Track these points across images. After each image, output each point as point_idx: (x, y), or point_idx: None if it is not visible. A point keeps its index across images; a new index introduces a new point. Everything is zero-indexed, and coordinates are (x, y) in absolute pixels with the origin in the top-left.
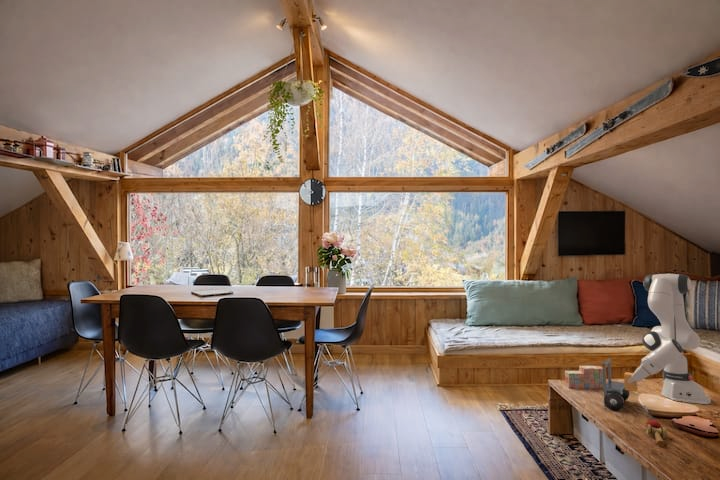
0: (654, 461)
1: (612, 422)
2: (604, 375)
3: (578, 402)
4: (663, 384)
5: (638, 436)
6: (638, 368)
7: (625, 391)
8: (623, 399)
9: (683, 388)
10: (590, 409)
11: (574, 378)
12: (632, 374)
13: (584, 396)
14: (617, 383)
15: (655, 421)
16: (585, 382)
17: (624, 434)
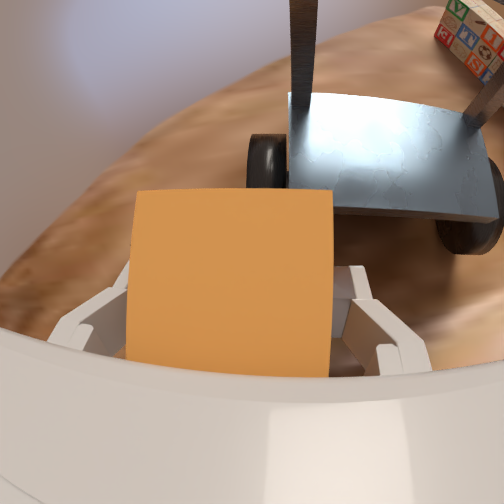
0: None
1: (93, 233)
2: (290, 28)
3: (283, 66)
4: None
5: (24, 331)
6: (292, 499)
7: (468, 232)
8: (443, 230)
9: None
10: (213, 119)
11: (464, 23)
12: (197, 328)
13: (386, 75)
14: (457, 167)
15: None
16: (492, 68)
17: (19, 288)
